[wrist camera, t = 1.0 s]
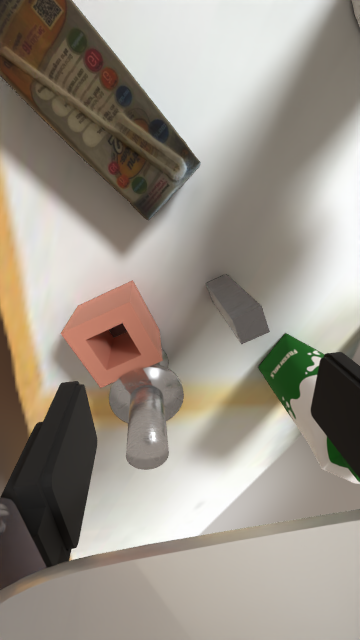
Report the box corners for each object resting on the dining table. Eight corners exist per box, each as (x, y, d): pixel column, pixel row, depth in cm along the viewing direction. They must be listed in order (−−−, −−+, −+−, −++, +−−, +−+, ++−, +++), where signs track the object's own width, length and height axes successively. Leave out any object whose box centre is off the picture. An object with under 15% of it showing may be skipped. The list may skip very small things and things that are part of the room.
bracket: (132, 280, 35) (129, 301, 28) (167, 344, 39) (172, 377, 32) (77, 305, 35) (60, 333, 28) (117, 366, 40) (111, 403, 33)
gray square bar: (226, 273, 36) (261, 306, 25) (233, 293, 37) (269, 331, 26) (205, 283, 36) (231, 319, 25) (213, 302, 38) (241, 344, 27)
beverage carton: (146, 220, 32) (147, 225, 26) (-5, 68, 25) (-51, 28, 19) (194, 168, 31) (206, 160, 25) (46, -11, 24) (13, -82, 18)
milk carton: (284, 325, 40) (398, 427, 22) (325, 349, 43) (456, 458, 25) (249, 369, 43) (326, 493, 25) (290, 389, 46) (386, 514, 28)
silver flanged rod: (161, 325, 38) (171, 403, 23) (185, 372, 42) (207, 465, 27) (103, 351, 39) (79, 443, 24) (133, 395, 42) (127, 497, 28)
